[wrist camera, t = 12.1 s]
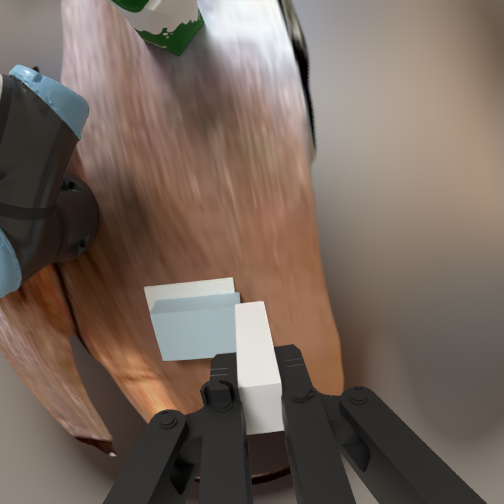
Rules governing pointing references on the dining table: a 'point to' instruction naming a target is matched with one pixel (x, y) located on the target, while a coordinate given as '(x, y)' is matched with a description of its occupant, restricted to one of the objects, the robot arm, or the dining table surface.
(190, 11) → the milk carton
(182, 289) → the mat
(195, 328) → the slab
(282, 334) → the dining table surface
